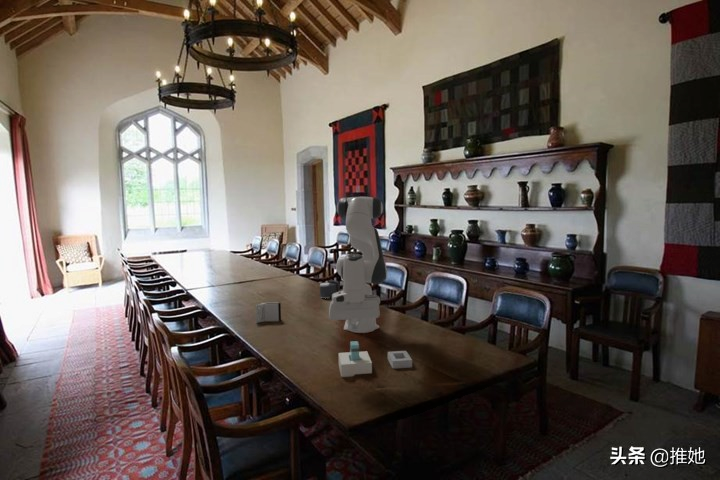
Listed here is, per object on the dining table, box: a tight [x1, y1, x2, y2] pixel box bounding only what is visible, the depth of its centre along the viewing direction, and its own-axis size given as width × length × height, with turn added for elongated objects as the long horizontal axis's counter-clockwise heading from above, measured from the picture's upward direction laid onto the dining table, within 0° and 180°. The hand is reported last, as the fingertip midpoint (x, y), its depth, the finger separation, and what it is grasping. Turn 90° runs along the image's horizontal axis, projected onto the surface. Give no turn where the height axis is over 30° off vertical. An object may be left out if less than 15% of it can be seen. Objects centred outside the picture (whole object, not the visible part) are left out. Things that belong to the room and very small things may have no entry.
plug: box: [349, 340, 360, 361], centre depth 163 cm, size 4×3×10 cm
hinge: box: [254, 301, 282, 324], centre depth 229 cm, size 14×5×10 cm, turn 105°
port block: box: [338, 350, 373, 378], centre depth 164 cm, size 12×12×5 cm
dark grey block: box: [318, 279, 341, 300], centre depth 283 cm, size 11×13×11 cm
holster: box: [387, 350, 413, 369], centre depth 168 cm, size 10×8×4 cm
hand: (354, 329), depth 162 cm, fingers closed
